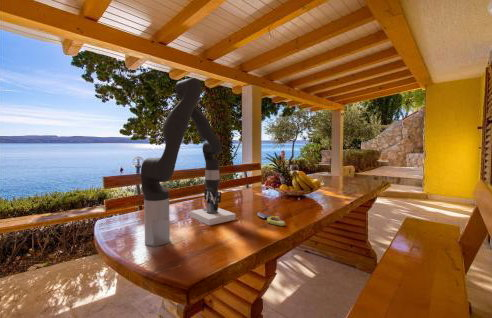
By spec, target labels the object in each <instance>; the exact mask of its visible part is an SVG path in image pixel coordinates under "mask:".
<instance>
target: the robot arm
mask: <svg viewBox="0 0 492 318" xmlns="http://www.w3.org/2000/svg"><path fill="white" fill-rule="evenodd" d="M174 87H175V88H174V89H175V90H174V91H175V93H176V96H177V98H178V99H179V102H178V103H177V105H175V106H174V107H173V108H172V109H171V111H170V112H169V113H168V115H167V116H166V119H165V121H164V123H163V126H162V134H163V139H164V142H165V146H164V149H163V153H162V155H161V157H148V158H146V159H144V160H143V162H142V163H141V167H140V182H141V191H142V194H143V200H144V205H143V207H144V209H143V210H144V244H145V245H146V246H150V247H152V248H153V247H154V248H155V247H159V246H162V245H167V244H169V243H170V242H171V241H170V240H171V239H170V237H171V235H170V233H171V232H170V229H171V228H170V191H169V190H168V189H166V188H165V187H164V186H162V184H161V183H164V182H168V181H169V180H170V179H171V178H172V176H173V174H174V172H175V167H176V164H177V159H178V156H179V152H180V148H181V146H182V142H183V139H184V136H185V134H186V131H187V128H188V126H189V123H190V119H192V121H193V123H194V126H195V128H196V130H197V132H198V134H199V137H200V138H201V140H204V143H203V144H202V154H203V158H204V161H205V173H204V185H205V186H204V187H205V188H204V189H203V194H204V195H203V196H204V200H206V201H205V202H206V204H207V203H210V200H213V202H214V211H218V208H219V204H221V202H222V192H221V191H218V188H220V163H219V159H218V158H215V157H214V155H219V154H221V152H222V150H223V146H222V143H221V141H220V139H219V138H218V137H217V135H216V134H215V133H214V132H213V129H212V127H211V123H210V122H209V120H208V118H207V117H206V116H205V115H204V114H203V113H202V112H201V111H200V110H199V109H198V108H197V107H196V105H197V103H198V101H199V99H200V97H201V95H202V83H201V81H200V80H199V79H198V78H196V77H189V78H186V79H183V80H182V79H181V80H179V81H177V82H176V84H175V86H174Z"/></svg>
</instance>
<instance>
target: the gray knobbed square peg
mask: <svg viewBox="0 0 492 318" xmlns="http://www.w3.org/2000/svg"><path fill="white" fill-rule="evenodd" d="M206 208H207V213H208V214H215V213H217V211H214V202H213V200H212V199H211V200H210V203H207V202H206Z"/></svg>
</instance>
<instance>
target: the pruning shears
mask: <svg viewBox="0 0 492 318" xmlns="http://www.w3.org/2000/svg"><path fill="white" fill-rule="evenodd" d="M257 216H259V217H260V218H262V219H266V221H267V223H269V224H270V225H274V226H279V227H280V226H281V227H283V226H286V222H285V221H284V220H280V217H279V216H277V215H271V214H264V213H262V212H260V211H259V212H257Z"/></svg>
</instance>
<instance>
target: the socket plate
mask: <svg viewBox="0 0 492 318" xmlns="http://www.w3.org/2000/svg"><path fill="white" fill-rule="evenodd" d="M189 212H190V213H189V214H190V215H189V216H190V217H191V218H192V219H195V220H197V221H199V222H201V223H203V224H205V225H206V226H213V225H217V224H221V223H226V222H230V221H235V220H236V213H234V212H231V211H228V210H226V209H223V208H220V207H218V211H217V213H215V214H208V213H207V207H206V208H200V209H193V210H190V211H189Z"/></svg>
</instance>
